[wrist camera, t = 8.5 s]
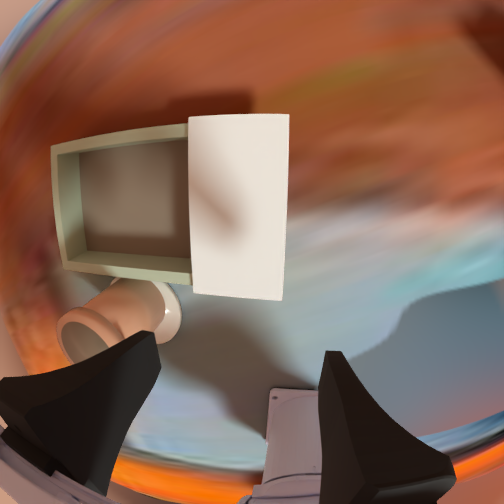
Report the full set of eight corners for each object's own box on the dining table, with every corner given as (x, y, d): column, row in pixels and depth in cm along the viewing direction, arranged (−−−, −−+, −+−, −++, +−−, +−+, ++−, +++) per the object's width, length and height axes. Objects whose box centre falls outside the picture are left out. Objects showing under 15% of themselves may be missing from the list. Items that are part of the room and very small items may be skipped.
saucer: (186, 346, 24) (183, 350, 23) (119, 333, 25) (116, 336, 24) (178, 272, 22) (175, 275, 21) (105, 265, 22) (101, 267, 22)
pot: (173, 335, 23) (132, 395, 16) (118, 325, 24) (70, 374, 16) (164, 273, 21) (110, 323, 14) (106, 267, 22) (46, 307, 15)
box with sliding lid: (284, 277, 20) (281, 300, 17) (84, 260, 23) (60, 274, 19) (290, 122, 17) (289, 114, 14) (74, 141, 19) (46, 142, 16)
